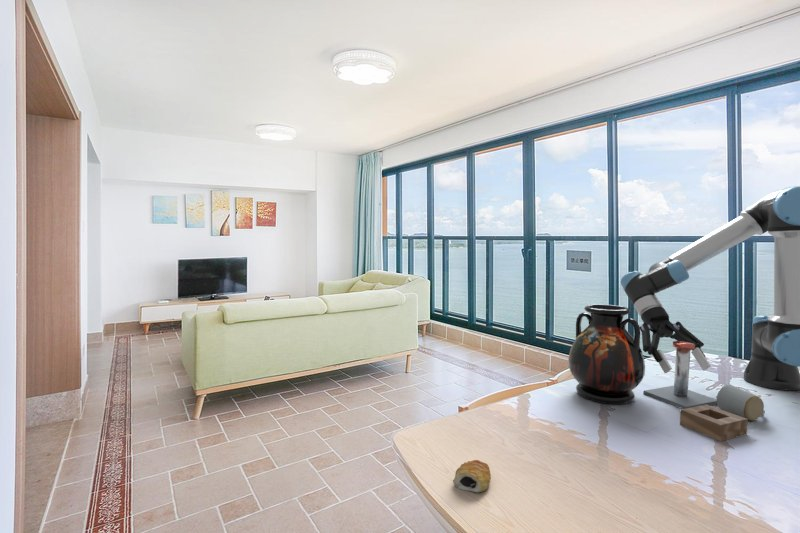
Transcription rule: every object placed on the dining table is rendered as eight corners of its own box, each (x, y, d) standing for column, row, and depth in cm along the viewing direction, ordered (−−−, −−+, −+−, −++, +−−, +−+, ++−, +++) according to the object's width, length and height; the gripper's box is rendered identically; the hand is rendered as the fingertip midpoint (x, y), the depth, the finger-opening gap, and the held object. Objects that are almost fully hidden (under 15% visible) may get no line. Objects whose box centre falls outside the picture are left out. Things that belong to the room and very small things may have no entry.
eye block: (705, 418, 116) (706, 404, 116) (746, 434, 106) (747, 418, 106) (680, 424, 112) (680, 409, 112) (719, 441, 103) (720, 425, 103)
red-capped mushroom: (678, 390, 134) (681, 340, 133) (695, 397, 129) (699, 344, 128) (665, 392, 132) (668, 341, 131) (682, 399, 127) (686, 346, 126)
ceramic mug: (745, 423, 113) (747, 395, 112) (715, 411, 121) (716, 385, 120) (774, 419, 116) (776, 392, 115) (742, 408, 124) (744, 382, 123)
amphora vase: (554, 394, 134) (556, 306, 132) (586, 379, 148) (588, 300, 147) (627, 415, 118) (630, 315, 116) (654, 396, 132) (658, 307, 130)
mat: (674, 388, 140) (674, 385, 140) (719, 403, 127) (719, 400, 127) (643, 393, 135) (643, 390, 135) (686, 410, 122) (686, 406, 122)
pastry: (465, 466, 92) (466, 448, 92) (496, 473, 89) (497, 456, 89) (451, 488, 83) (451, 469, 83) (485, 498, 81) (485, 478, 80)
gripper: (677, 317, 147) (714, 373, 133) (612, 319, 142) (644, 378, 128) (690, 304, 141) (731, 361, 127) (624, 306, 137) (659, 365, 123)
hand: (688, 369), depth 128 cm, fingers open, 13 cm apart
